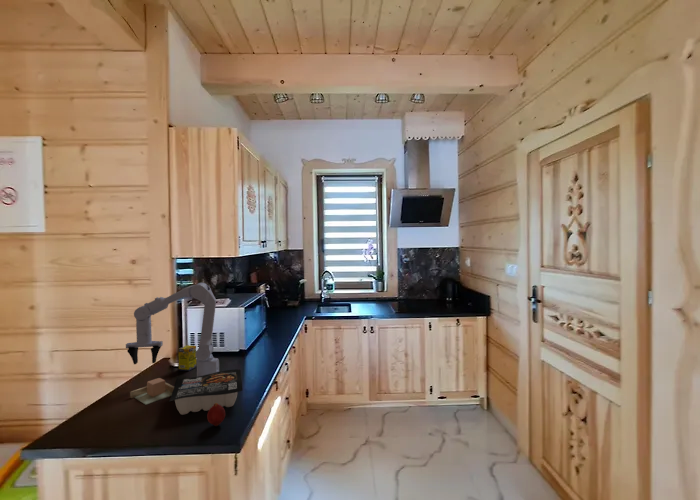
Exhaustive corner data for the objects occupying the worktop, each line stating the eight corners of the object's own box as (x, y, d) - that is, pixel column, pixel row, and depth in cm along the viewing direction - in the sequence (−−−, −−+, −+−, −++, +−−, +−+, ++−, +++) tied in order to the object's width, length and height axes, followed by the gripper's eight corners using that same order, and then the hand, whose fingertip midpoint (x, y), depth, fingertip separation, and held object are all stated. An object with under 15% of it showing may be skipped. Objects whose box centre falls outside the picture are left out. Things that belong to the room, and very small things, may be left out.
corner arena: (163, 386, 150) (162, 380, 150) (178, 394, 142) (177, 388, 142) (130, 397, 139) (129, 391, 139) (144, 406, 131) (144, 400, 131)
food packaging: (240, 368, 151) (242, 388, 130) (240, 384, 151) (242, 408, 130) (177, 376, 143) (168, 399, 121) (178, 394, 143) (169, 420, 121)
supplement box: (189, 371, 167) (188, 349, 167) (178, 370, 168) (177, 348, 168) (196, 367, 173) (196, 345, 173) (186, 366, 174) (185, 345, 174)
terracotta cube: (159, 389, 146) (159, 377, 146) (165, 392, 143) (165, 380, 143) (147, 393, 142) (146, 381, 142) (152, 396, 139) (152, 384, 139)
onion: (210, 421, 120) (210, 399, 120) (227, 420, 120) (227, 398, 120) (205, 430, 114) (204, 407, 114) (222, 429, 114) (222, 406, 114)
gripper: (164, 329, 157) (165, 359, 158) (130, 331, 155) (131, 361, 155) (158, 333, 150) (159, 364, 151) (122, 335, 148) (123, 366, 148)
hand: (144, 363), depth 153 cm, fingers open, 7 cm apart
